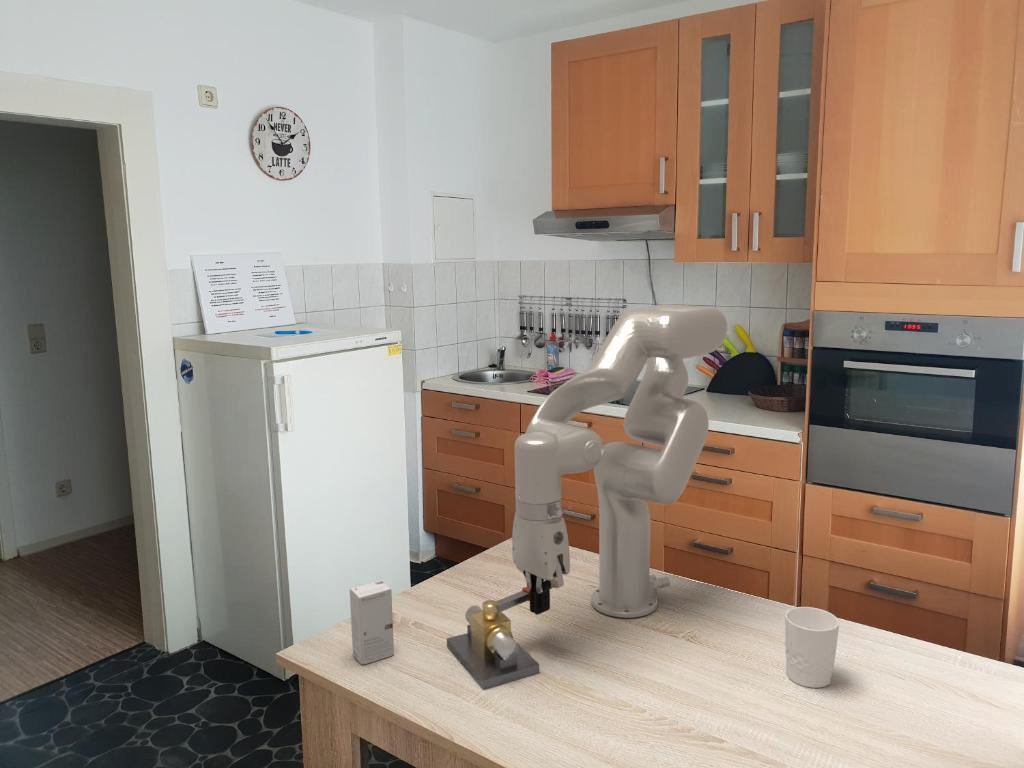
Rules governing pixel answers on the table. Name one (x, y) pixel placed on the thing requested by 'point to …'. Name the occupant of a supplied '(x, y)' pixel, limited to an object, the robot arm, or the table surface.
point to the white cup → (810, 646)
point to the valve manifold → (491, 650)
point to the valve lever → (504, 603)
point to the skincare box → (371, 622)
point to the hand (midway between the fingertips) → (540, 610)
